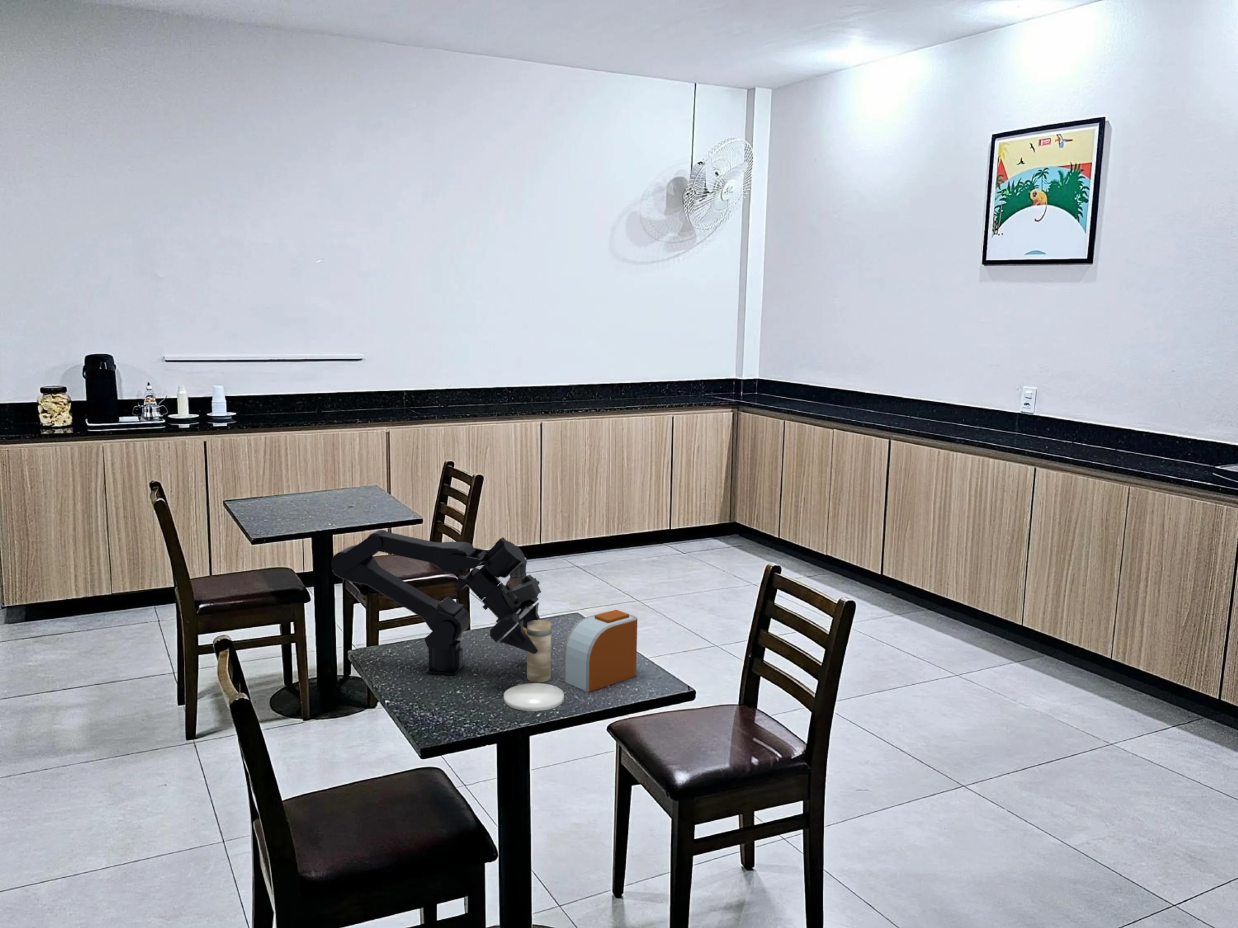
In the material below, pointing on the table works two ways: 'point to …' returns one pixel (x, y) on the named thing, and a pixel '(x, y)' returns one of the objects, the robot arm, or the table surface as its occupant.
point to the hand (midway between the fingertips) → (542, 645)
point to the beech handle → (539, 651)
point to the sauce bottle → (518, 577)
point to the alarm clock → (601, 650)
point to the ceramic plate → (533, 697)
